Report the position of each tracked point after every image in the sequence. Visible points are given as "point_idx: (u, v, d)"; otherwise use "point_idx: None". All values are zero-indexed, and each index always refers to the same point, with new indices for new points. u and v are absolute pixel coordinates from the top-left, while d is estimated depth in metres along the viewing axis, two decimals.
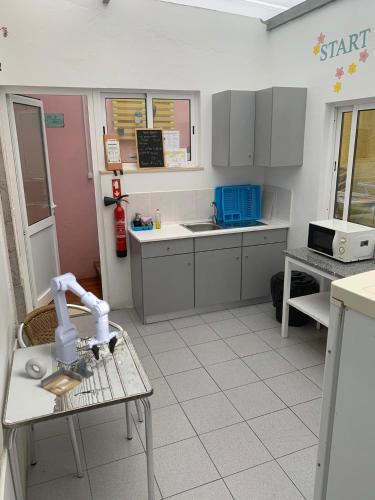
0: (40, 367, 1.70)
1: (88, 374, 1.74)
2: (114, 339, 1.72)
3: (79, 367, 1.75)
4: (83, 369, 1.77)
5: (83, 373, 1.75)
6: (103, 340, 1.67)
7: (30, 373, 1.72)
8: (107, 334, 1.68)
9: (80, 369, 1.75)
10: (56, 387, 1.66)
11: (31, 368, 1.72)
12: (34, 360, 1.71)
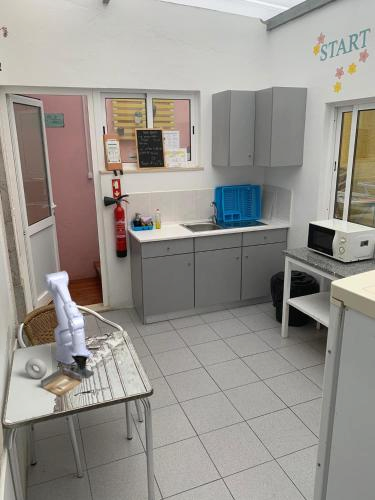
0: (40, 367, 1.70)
1: (88, 374, 1.74)
2: (79, 357, 1.72)
3: (79, 367, 1.75)
4: (83, 369, 1.77)
5: (83, 373, 1.75)
6: (73, 351, 1.73)
7: (30, 373, 1.72)
8: (75, 349, 1.71)
9: (80, 369, 1.75)
10: (56, 387, 1.66)
11: (31, 368, 1.72)
12: (34, 360, 1.71)
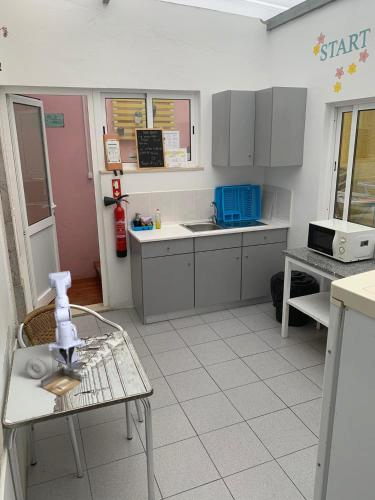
0: (40, 367, 1.70)
1: (79, 364, 1.70)
2: (70, 349, 1.65)
3: (69, 361, 1.67)
4: (70, 363, 1.70)
5: (73, 366, 1.69)
6: (62, 346, 1.64)
7: (30, 373, 1.72)
8: (67, 341, 1.63)
9: (69, 363, 1.68)
10: (56, 387, 1.66)
11: (31, 368, 1.72)
12: (34, 360, 1.71)
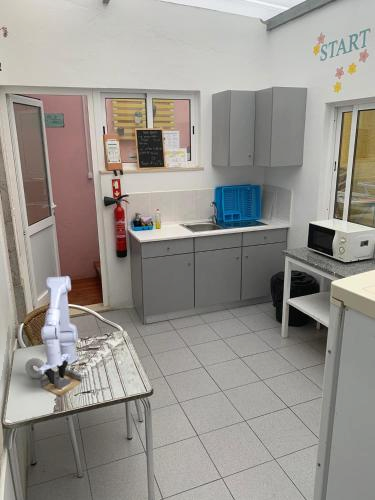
0: (40, 367, 1.70)
1: (66, 380, 1.68)
2: (64, 363, 1.64)
3: None
4: None
5: (62, 384, 1.66)
6: (55, 364, 1.59)
7: (30, 373, 1.72)
8: (59, 357, 1.61)
9: None
10: None
11: (31, 368, 1.72)
12: (34, 360, 1.71)
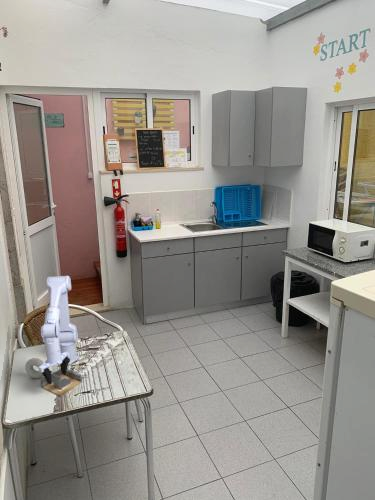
0: None
1: (66, 380, 1.68)
2: (66, 360, 1.65)
3: None
4: None
5: (62, 384, 1.66)
6: (55, 362, 1.59)
7: (30, 373, 1.72)
8: (59, 355, 1.60)
9: None
10: None
11: (31, 368, 1.72)
12: (34, 360, 1.71)
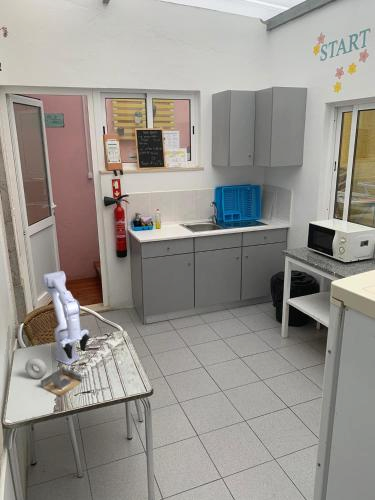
0: (40, 367, 1.70)
1: (66, 380, 1.68)
2: (85, 337, 1.76)
3: None
4: None
5: (62, 384, 1.66)
6: (75, 338, 1.70)
7: (30, 373, 1.72)
8: (79, 332, 1.71)
9: None
10: None
11: (31, 368, 1.72)
12: (34, 360, 1.71)
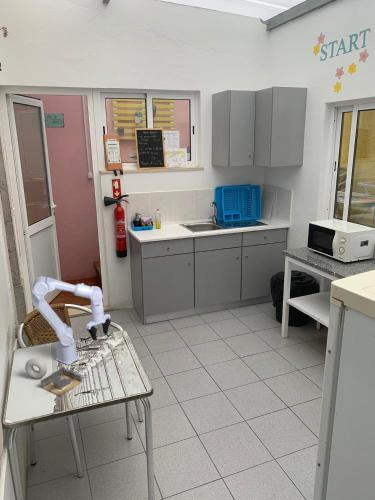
0: (40, 367, 1.70)
1: (66, 380, 1.68)
2: (108, 320, 1.92)
3: None
4: None
5: (62, 384, 1.66)
6: (100, 321, 1.86)
7: (30, 373, 1.72)
8: (103, 316, 1.87)
9: None
10: None
11: (31, 368, 1.72)
12: (34, 360, 1.71)
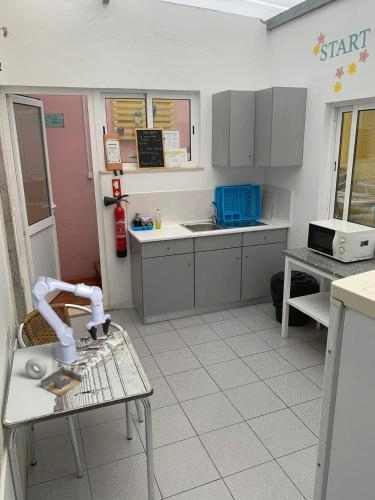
0: (40, 367, 1.70)
1: (66, 380, 1.68)
2: (108, 320, 1.92)
3: None
4: None
5: (62, 384, 1.66)
6: (100, 321, 1.86)
7: (30, 373, 1.72)
8: (103, 316, 1.87)
9: None
10: None
11: (31, 368, 1.72)
12: (34, 360, 1.71)
